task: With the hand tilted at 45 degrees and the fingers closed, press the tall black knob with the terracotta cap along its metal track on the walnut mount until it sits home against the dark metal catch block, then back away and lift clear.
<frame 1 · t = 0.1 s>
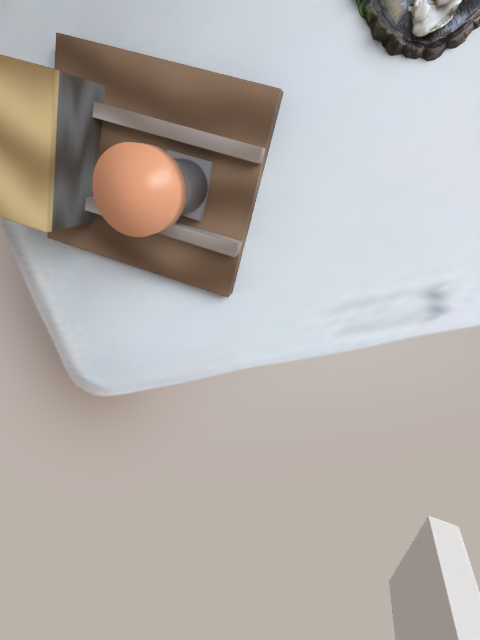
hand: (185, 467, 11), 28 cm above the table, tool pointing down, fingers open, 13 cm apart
knob: (163, 188, 30), point 7 cm above the table, slide at 6.5 cm
mount: (155, 173, 37), on the table
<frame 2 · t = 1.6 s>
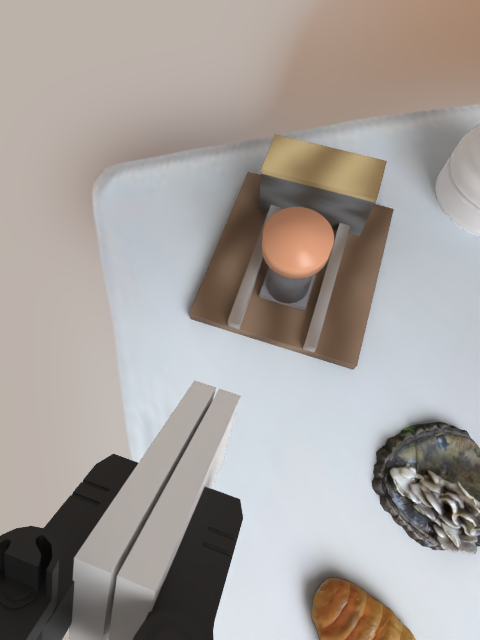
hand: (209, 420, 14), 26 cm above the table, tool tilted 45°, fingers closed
knob: (291, 265, 38), point 7 cm above the table, slide at 6.5 cm
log: (435, 484, 37), on the table
mount: (295, 265, 45), on the table
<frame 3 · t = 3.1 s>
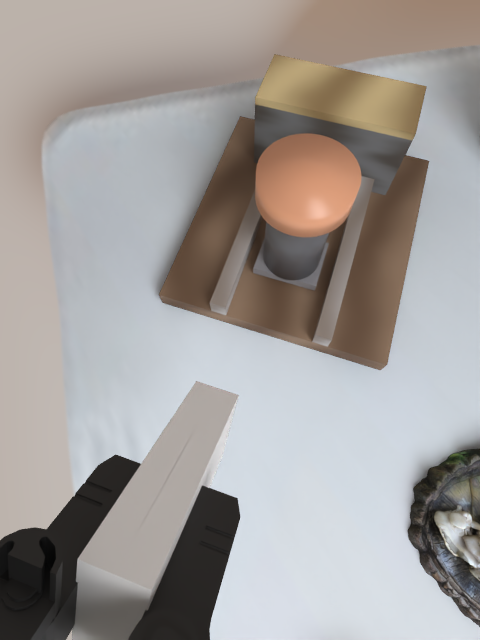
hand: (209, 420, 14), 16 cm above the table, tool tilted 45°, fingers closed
knob: (298, 224, 27), point 7 cm above the table, slide at 6.5 cm
mount: (300, 233, 35), on the table
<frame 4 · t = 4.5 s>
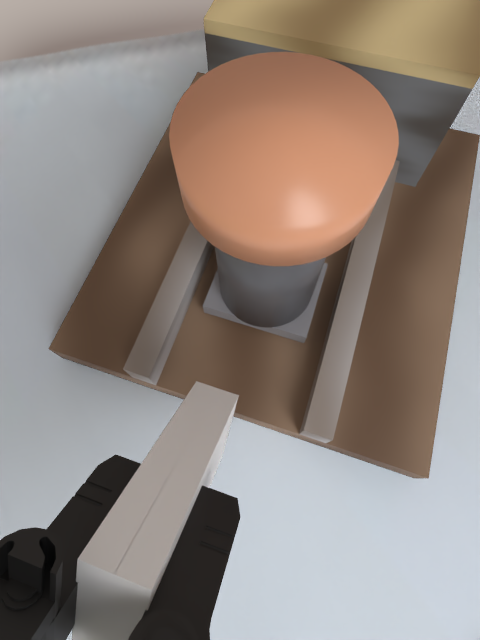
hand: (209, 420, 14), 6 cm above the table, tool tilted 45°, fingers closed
knob: (271, 235, 15), point 7 cm above the table, slide at 6.5 cm
mount: (285, 245, 23), on the table
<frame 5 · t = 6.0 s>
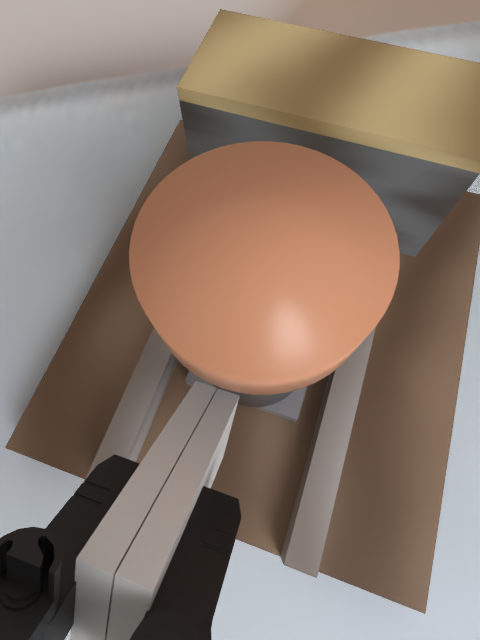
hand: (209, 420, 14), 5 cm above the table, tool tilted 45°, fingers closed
knob: (257, 322, 13), point 7 cm above the table, slide at 5.4 cm, touching gripper
mount: (271, 318, 21), on the table
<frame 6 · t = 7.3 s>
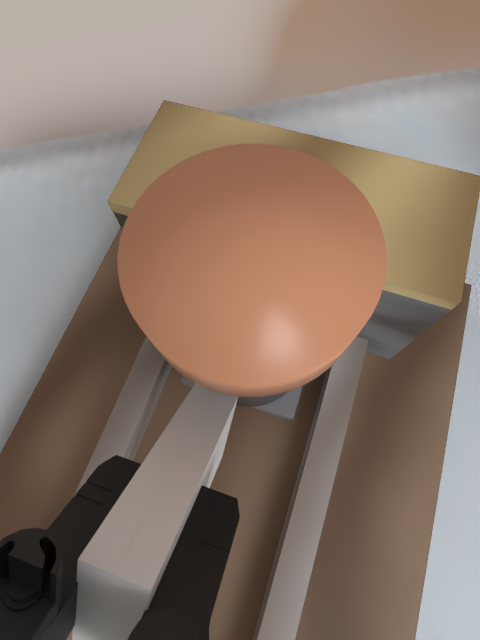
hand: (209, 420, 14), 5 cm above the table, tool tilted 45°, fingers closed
knob: (250, 323, 13), point 7 cm above the table, slide at -0.3 cm, touching gripper, mount
mount: (232, 424, 19), on the table
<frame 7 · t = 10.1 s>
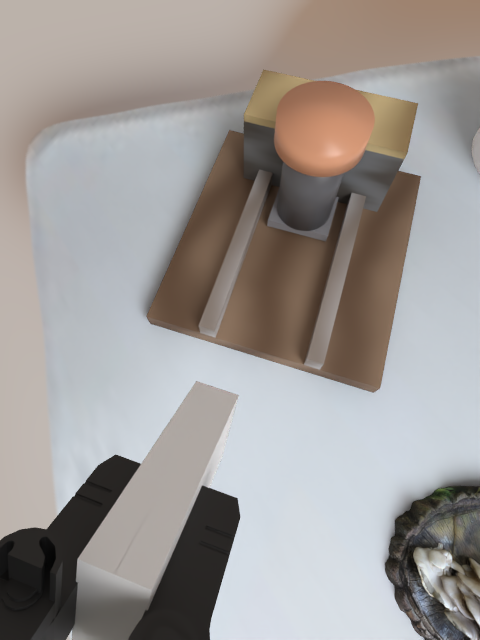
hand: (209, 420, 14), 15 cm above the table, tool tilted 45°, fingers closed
knob: (312, 172, 29), point 7 cm above the table, slide at -0.1 cm
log: (476, 576, 25), on the table
mount: (291, 250, 34), on the table
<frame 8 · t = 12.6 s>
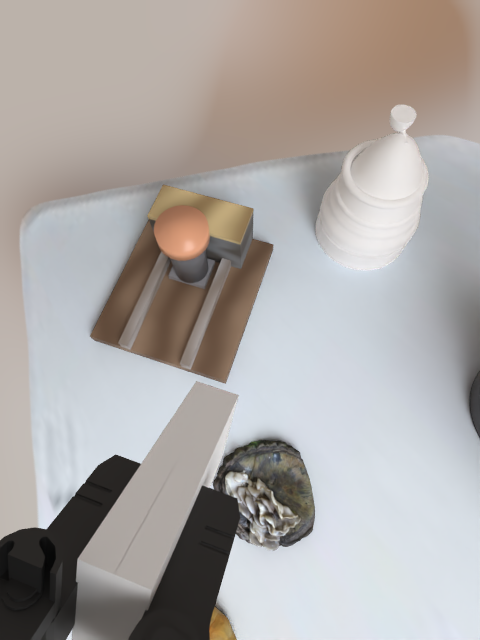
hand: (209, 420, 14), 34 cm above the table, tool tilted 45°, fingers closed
honey pot: (359, 232, 57), on the table
knob: (187, 251, 48), point 7 cm above the table, slide at -0.1 cm
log: (266, 491, 44), on the table
pastry: (192, 633, 40), on the table
mount: (187, 293, 53), on the table
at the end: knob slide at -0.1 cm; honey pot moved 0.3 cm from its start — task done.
